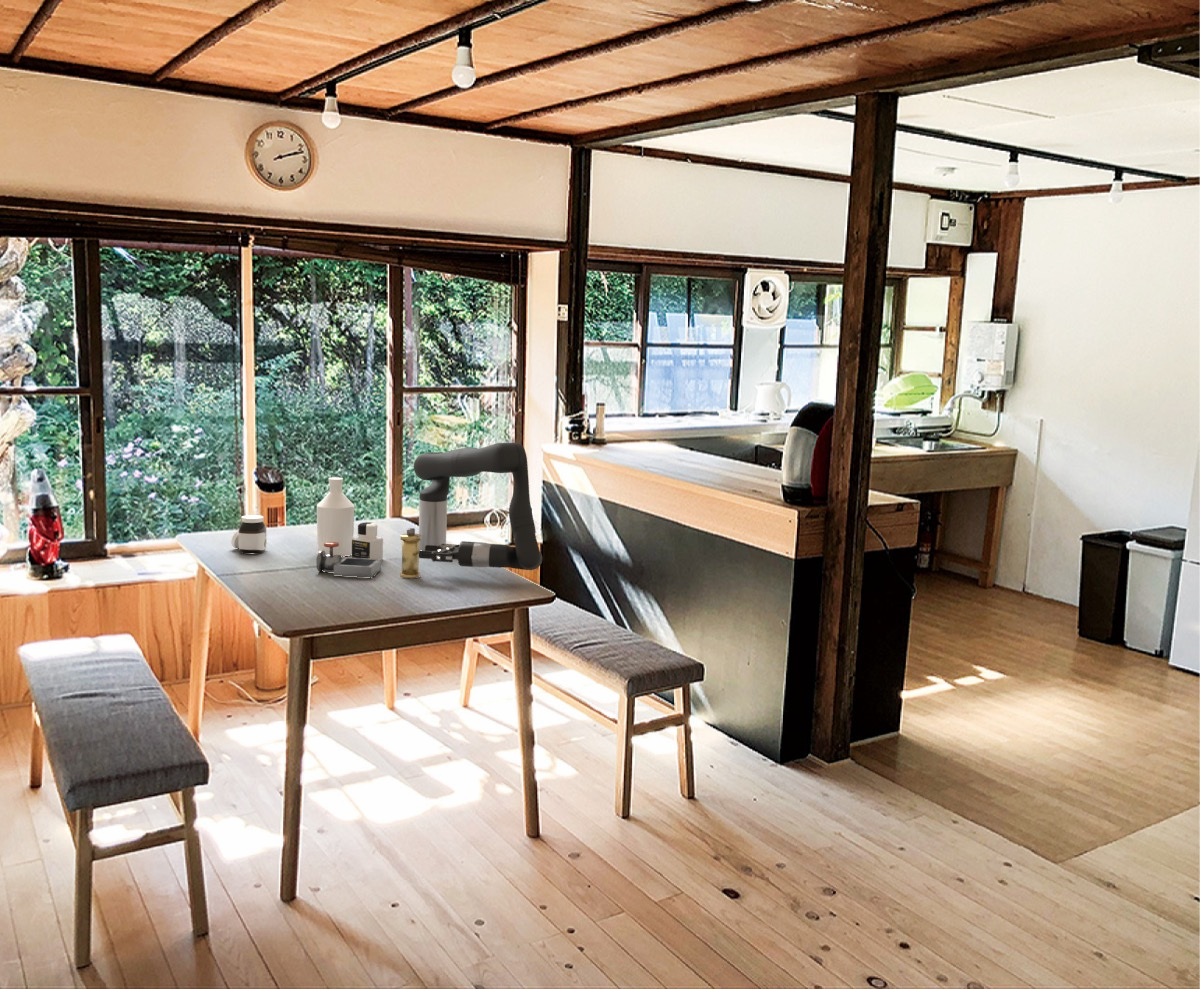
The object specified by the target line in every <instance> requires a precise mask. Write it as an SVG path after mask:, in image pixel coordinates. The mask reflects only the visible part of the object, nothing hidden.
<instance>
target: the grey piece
mask: <svg viewBox="0 0 1200 989" xmlns="http://www.w3.org/2000/svg"><path fill="white" fill-rule="evenodd" d="M324 546H325V547H330V554H326V552H325V551H321V550H320V551H319V553H318V554H317V555H316V556H317V557H316V570H317V571H318V572H319V571H322V570H323V571H325V572H334V573H333V576H334V575H342V576H357V577H370V578H371V577H373V576H374V575H375V574H376V573H378V572H379V571H380V570H381V571H382V560H381V559H368V558H352V557H351V556H348V557H341V555H334V554H333V547H338V546H339V543H338V542H325V543H324ZM381 571H380V572H381ZM380 572H379V573H380ZM379 573H378V574H379ZM376 575H377V574H376ZM376 575H375V576H376ZM375 576H374V577H375ZM374 577H373V578H374Z"/></svg>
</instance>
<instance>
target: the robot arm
mask: <svg viewBox="0 0 1200 989" xmlns="http://www.w3.org/2000/svg"><path fill="white" fill-rule="evenodd" d="M528 465H529V464H528V456H527V453H526V450H525V448H524V446H523V445H522V444H521V443H519V442H497V443H493V444H490V445H487V446H483V447H480V448H478V447H474V446H473V447H463V448H461V447H460V448H457V449H452V450H448V451H443V452H442V451H439V452H438V451H433V452H423V453H421V454H419V455H418V456H417V457H416V458H415V459H414V462H413V471H414V474H415V475H416V477H418V478H419V479H420V480H423V481H431V483H430V484H429V485H428V486H427V487H426V488H423V489H422V490H420V491H419V496H418V497H419V498H418V499H419V500H418V501H419V503H418V504H419V506H418V508H419V509H418V510H419V511H418V512H419V513H418V534H420V535H421V540H419V559H426V560H431V561H432V562H434V563H435V562H440V563H441V562H443V563H453V561H454V560H458V561H457V562H458V563H457V564H458V565H459V567H469V568H470V567H471V568H501V569H502V568H509V569H515V570H524V571H525V570H526V571H534V570H536V569H538V568H539V567H540V566H542V563H543V555H542V552H541V551H540V548H539V544H538V539H537V536H536V535H537V534H536V532H537V530H536V525H535V521H534V517H533V516H534V515H533V511H532V506H531V499H530V483H529V482H530V481H529V466H528ZM482 472H484V473H494V474H495V473H496V474H508V473H509V474H510V473H511V474H512V477H513V482H514V487H513V488H514V489H513V491H512V492H513V493H512V497H511V500H510V503H509V509H508V516H509V523H510V526H511V531H512V535H513V539H514V546H510V545H507V544H502V543H499V544H498V543H488V542H482V541H481V542H480V541H465V540H463V541H461V542H459V544H455V543H454V544H452V543H451V544H450V543H447V518H448V494H449V492H450V482H451V479H450V478H468V477H474V476H477V475H480V474H481V473H482ZM420 550H422V551H420Z"/></svg>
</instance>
